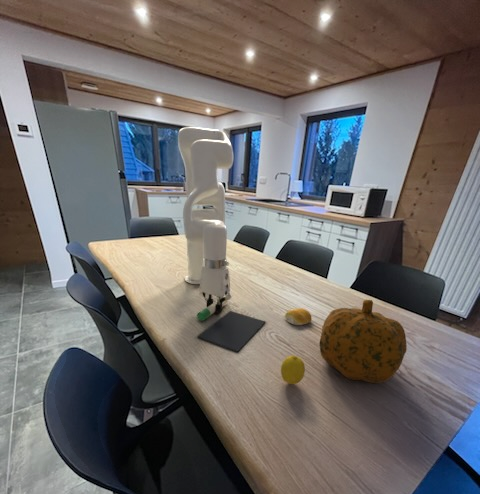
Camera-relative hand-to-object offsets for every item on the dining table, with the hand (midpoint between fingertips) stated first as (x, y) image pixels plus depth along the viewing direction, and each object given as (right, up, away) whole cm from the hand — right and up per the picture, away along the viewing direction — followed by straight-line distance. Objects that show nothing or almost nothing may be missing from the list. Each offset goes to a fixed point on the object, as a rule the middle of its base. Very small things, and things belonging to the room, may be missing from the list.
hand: (214, 310), depth 96 cm
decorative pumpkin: (+40, -15, -25) cm, 49 cm away
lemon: (+22, -17, -31) cm, 42 cm away
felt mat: (+7, -6, -11) cm, 14 cm away
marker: (0, -1, -1) cm, 1 cm away
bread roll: (+30, -3, -2) cm, 30 cm away
